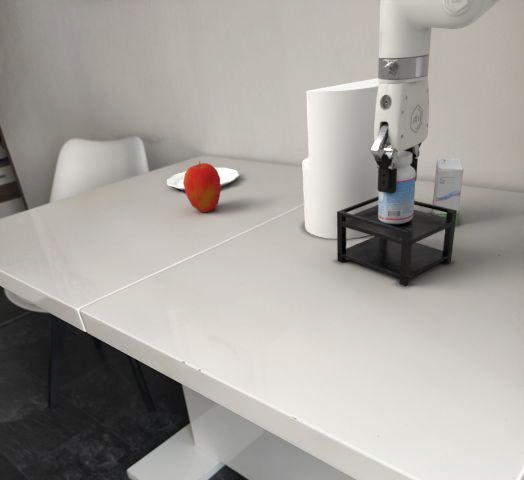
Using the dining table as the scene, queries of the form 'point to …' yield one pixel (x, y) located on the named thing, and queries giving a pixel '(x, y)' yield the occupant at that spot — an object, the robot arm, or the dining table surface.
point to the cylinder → (339, 155)
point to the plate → (224, 173)
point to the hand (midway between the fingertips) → (397, 185)
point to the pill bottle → (399, 193)
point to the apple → (202, 186)
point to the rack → (396, 240)
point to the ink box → (447, 185)
